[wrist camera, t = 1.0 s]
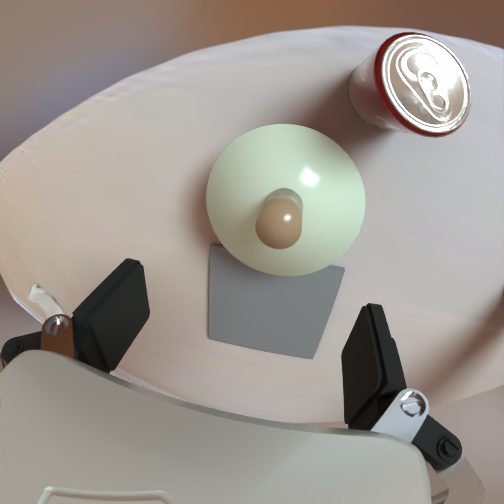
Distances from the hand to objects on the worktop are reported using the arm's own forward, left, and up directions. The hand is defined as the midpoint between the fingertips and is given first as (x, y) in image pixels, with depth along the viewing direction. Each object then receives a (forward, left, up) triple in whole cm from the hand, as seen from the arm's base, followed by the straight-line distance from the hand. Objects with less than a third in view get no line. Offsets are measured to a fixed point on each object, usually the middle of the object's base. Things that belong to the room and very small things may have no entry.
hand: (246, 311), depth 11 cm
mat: (0, +16, -20) cm, 26 cm away
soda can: (-8, -12, -20) cm, 25 cm away
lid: (0, 0, -15) cm, 15 cm away
